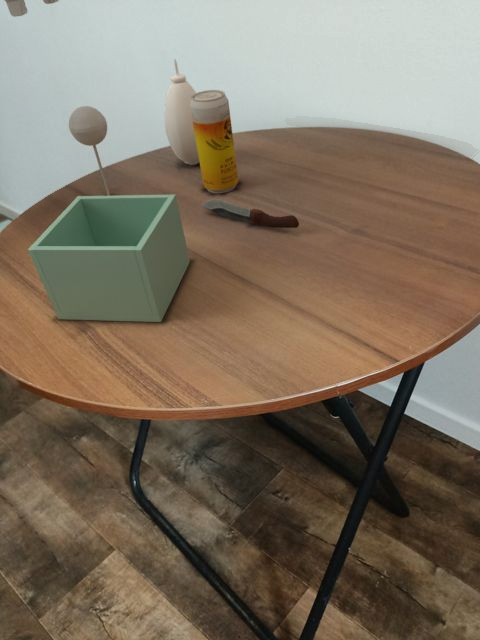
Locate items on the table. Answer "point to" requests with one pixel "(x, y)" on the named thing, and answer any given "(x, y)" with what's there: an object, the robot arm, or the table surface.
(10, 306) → the table surface
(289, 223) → the knife
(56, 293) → the tub
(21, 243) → the table surface
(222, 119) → the beer can
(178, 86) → the sauce bottle
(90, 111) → the lollipop
